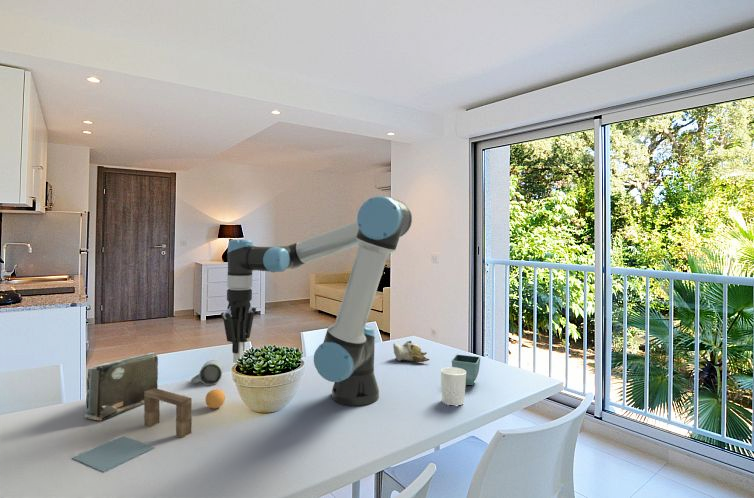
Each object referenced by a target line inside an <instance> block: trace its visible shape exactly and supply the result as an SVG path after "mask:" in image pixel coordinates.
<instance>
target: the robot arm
mask: <svg viewBox="0 0 754 498" xmlns="http://www.w3.org/2000/svg"><path fill="white" fill-rule="evenodd" d="M412 223H413V215H412V212H411V210H410V208H409V207H408V205H407V204H405V202H403V201H400V200H399V199H395V198H392V197H390V196H385V195H379V196H373V197H370V198H368V199H367V200H366V201H364V202H363V203H362V205H361V206H360V207H359V209H358V212H357V216H356V221H353V222H350V223H347V224H344V225H342V226H339V227H336V228H333V229H331V230H328V231H325V232H323V233H319V234H317V235H314V236H312V237H308V238H306V239H303V240H300V241H297V242H295V243H292V244H289V245H285V246H255V245H254V242H253V240H252V239H241V238H240V239H238V238H237V239H236V238H235V239H230V240H229V241H228V243H227V244H228V246H227V253H226V254H227V282H226V283H227V284H226V285H227V286H226V287H227V288H228V289H227V290H226V300H227V302H228V304H227V305H228V306H227V310H226V311H225V312H221V313H220V317H221V318H222V320H223V325H224V330H225V336H226V341H227V342H230V343H232V349H231V350H232V354H233V357H232V358H233V360H232V362H233V364H234V363H235V364H238V363H237V360H238V358H240V357H241V356H243V357H244V351H245V343H246V342H248V339H250V336H251V332H252V327H253V321H254V317H255V313H256V311H257V308H256V307H252V306H251V305H252V304H251V301H252V300H253V289H252V288H253V271H260V272H261V271H262V272H268V273H270V272H271V273H282V272H285V271H286V270H288V269H292V270H293V269H297V268H300V267H301V266H303V265H305V264H308V263H310V262H313V261H317V260H319V259H322V258H325V257H328V256H329V257H330V256H332V255H334V254H338V253H340V252H344V251H346V250H350V249H352V248H355V247H358V249H357V252H356V255H355V259H354V261H353V264H352V267H351V271H350V274H349V278H348V280H347V284H346V287H345V290H344V294H343V296H342V300H341V303H340V306H339V310H338V312H337V316H336V319H335V322H334V323H333V324H331V325H329V326H328V328H327V329H326V334H325V336H324V340H323V342H322V343H321V344H319V345H318V347H317V349H316V350H315V352H314V353H313V354H314V355H313V365H314V367H315V369H316V371H317V373H318V374H319V376H321V377H322V378H323V379H324V380H326V381H328V382H331V383H334V384H333V386H332V390H331V398H332V399H333V401H334V402H337V403H338V404H341V405H346V406H364V405H365V404H366V405H370V404H373V403H374V402H377V399H378V400H379V398H380V390H379V389H380V388H379V386H378V382H377V378H376V376H375V344H376V343H375V342H376V341H375V339H376V336H375V329H374V328H373V327H372V326H368V325H367V321H368V318H369V316H370V312H371V310H372V307H373V303H374V300H375V298H376V293H377V291H378V287H379V284H380V281H381V278H382V276H383V272H384V269H385V266H386V263H387V260H388V256H389V255H390V254H391V253H394V252H395V251H396V249H397V246H398V242H399V240H400V237H403V236H404V235H405V234H407V233H408V231H409V230H410V228H411V226H412ZM366 405H365V406H366Z"/></svg>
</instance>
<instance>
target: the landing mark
mask: <svg viewBox="0 0 754 498" xmlns="http://www.w3.org/2000/svg"><path fill="white" fill-rule="evenodd" d="M153 449H155V446H153V445H150V444H147V443H144V442H141V441H139V440H136V439H133V438H131V437H128V436H125V435H122V436H120V437H118V438H115V439H113V440H111V441H107V442H105V443H103V444H100V445H98V446H96V447H93V448H90V449H89V450H87V451H84V452H81V453H79V454H78V455H75V456H72V457H71V459H73V460H74V459H75V461H77V462H79V463H81V462H82V464H83V463H84V464H83V465H85V466H88V465H89V467H90V466H91V467H90V468H93V467H94V468H93V469H95V468H96V469H95V470H97V469H98V471H99V470H101V471H100V472H102V473H106V472H107V470H108V471H110V470H112V469H114V468H116V467H118V466H120V465H122V464H124V463H126V462H129V461H130V460H133V459H135V458H137V457H139V456H141V455H143V454H145V453H148V452H149V451H151V450H153ZM109 469H110V470H109ZM105 471H106V472H105Z"/></svg>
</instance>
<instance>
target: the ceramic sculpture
mask: <svg viewBox="0 0 754 498" xmlns="http://www.w3.org/2000/svg"><path fill="white" fill-rule="evenodd" d="M392 345H393V347H392V348H393V353H394V355H395V359H396V361H398V362H401V361H402V360H403V361H408V360H409V361H408V362H413V361H414V362H418V363H424V362H427V361H430V360H431V359H430V358H427V357H426V356H425V355H427V354H428V352H426V351H425V352H423V351H422V349H421V347H420V346H419V344H417V343H412V340H409V341H406V342H404V344H402V345H401V344H397V343H393V344H392Z"/></svg>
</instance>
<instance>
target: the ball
mask: <svg viewBox="0 0 754 498" xmlns="http://www.w3.org/2000/svg"><path fill="white" fill-rule="evenodd" d="M204 401H205V404H206V406H207V407H208V408H211V409H214V410H215V409H218V408H220V407H222V406H223V405H224V403H225V401H226V395H225V392H224V391H223V390H221V389H220V388H213V389H211V390H209V391H208V393H207V394H206V395H205V399H204Z"/></svg>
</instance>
